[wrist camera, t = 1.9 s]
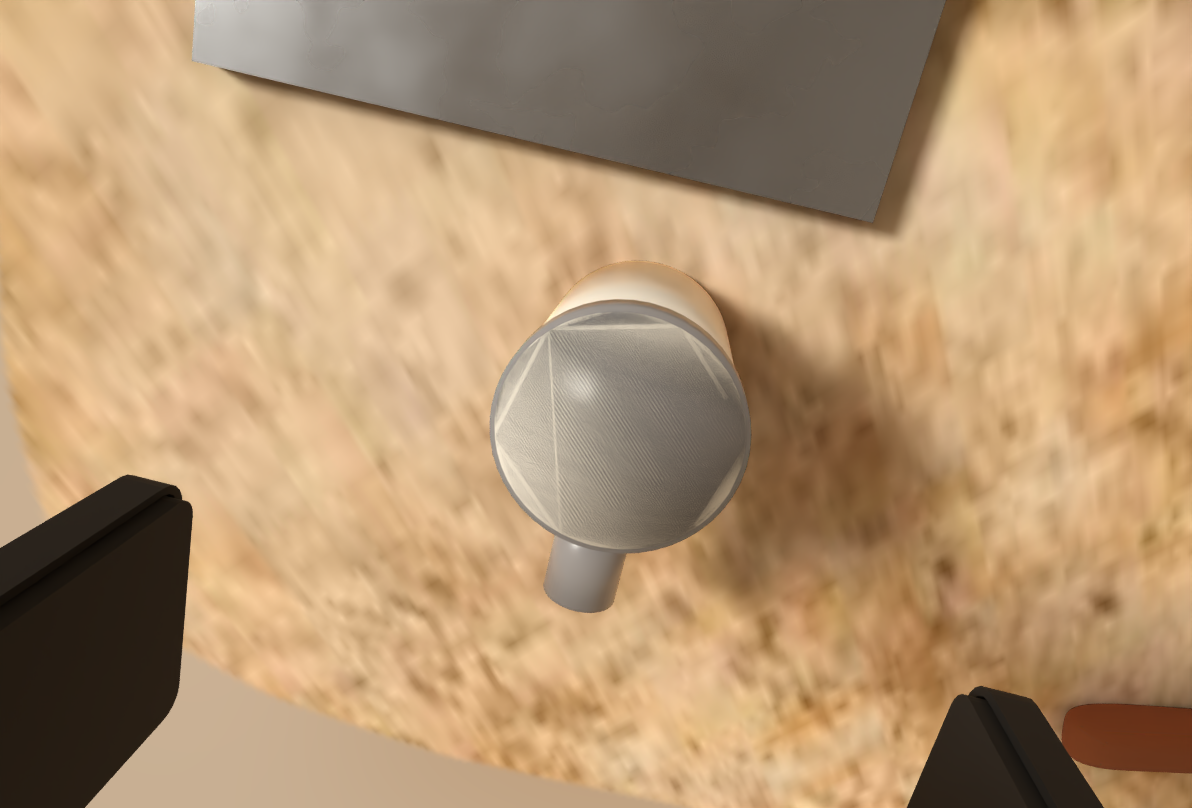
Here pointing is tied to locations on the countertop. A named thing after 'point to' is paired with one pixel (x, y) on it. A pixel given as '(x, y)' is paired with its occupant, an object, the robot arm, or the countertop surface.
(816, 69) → the mount plate
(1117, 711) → the kitchen knife
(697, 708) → the countertop surface
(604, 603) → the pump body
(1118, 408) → the countertop surface
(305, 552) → the countertop surface
